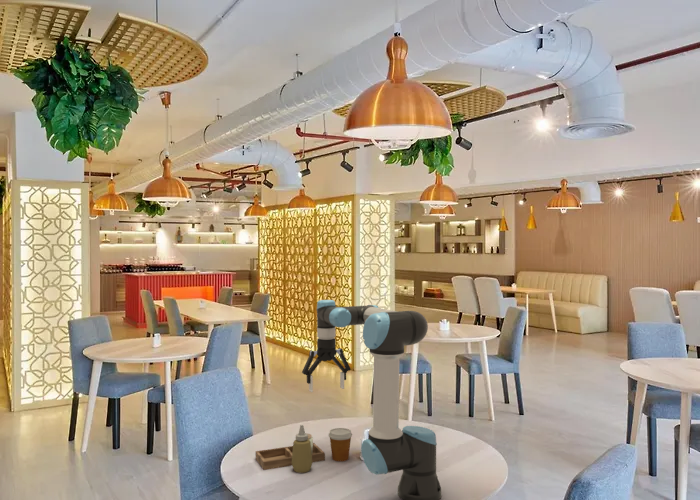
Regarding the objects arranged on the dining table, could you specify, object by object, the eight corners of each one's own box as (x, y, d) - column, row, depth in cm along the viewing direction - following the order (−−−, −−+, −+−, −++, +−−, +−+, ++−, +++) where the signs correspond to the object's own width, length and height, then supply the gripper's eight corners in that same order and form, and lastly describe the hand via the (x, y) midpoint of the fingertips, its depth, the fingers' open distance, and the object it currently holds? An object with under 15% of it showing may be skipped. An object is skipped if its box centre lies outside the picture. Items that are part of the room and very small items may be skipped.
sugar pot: (315, 458, 239) (315, 437, 239) (298, 461, 237) (298, 439, 237) (309, 453, 246) (309, 432, 246) (293, 455, 243) (293, 434, 243)
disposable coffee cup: (349, 466, 234) (349, 435, 234) (326, 464, 236) (326, 434, 236) (354, 457, 244) (354, 428, 244) (331, 455, 246) (331, 427, 245)
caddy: (324, 462, 238) (324, 452, 238) (263, 472, 228) (263, 462, 228) (313, 452, 250) (313, 442, 250) (255, 461, 240) (255, 451, 240)
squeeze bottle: (288, 470, 230) (288, 423, 230) (308, 466, 234) (307, 421, 233) (295, 477, 223) (295, 429, 223) (315, 474, 226) (315, 427, 226)
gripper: (351, 334, 251) (351, 384, 251) (294, 338, 242) (294, 390, 242) (358, 337, 244) (358, 388, 244) (299, 341, 235) (300, 394, 235)
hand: (326, 389), depth 243 cm, fingers open, 13 cm apart
